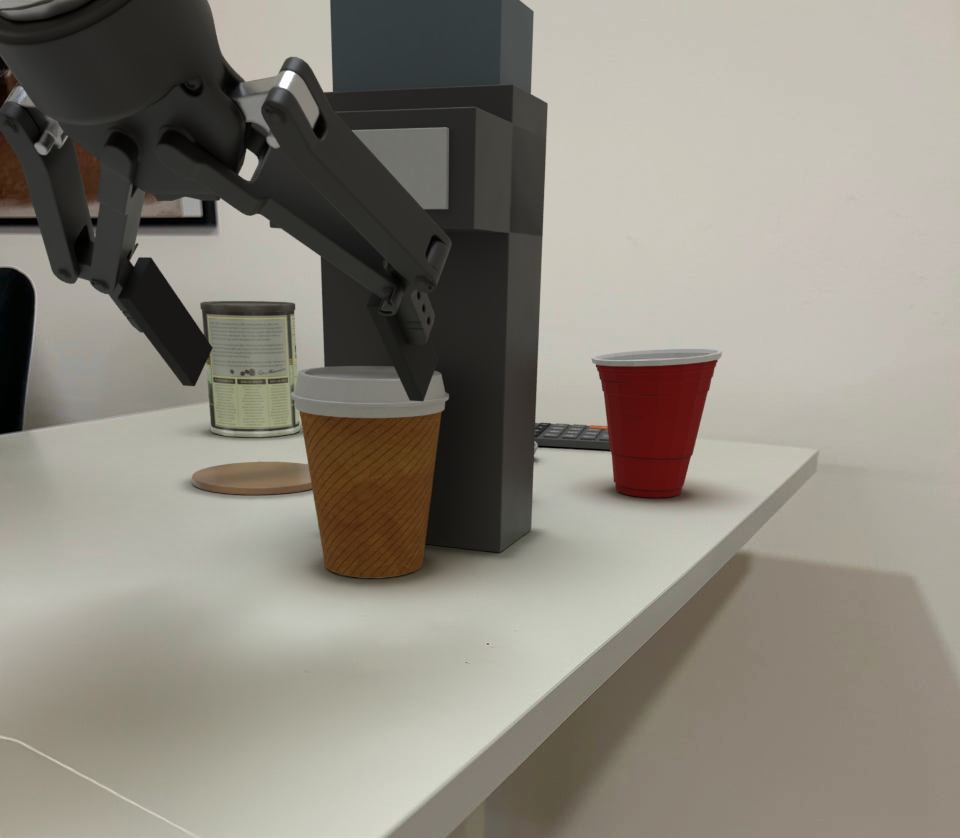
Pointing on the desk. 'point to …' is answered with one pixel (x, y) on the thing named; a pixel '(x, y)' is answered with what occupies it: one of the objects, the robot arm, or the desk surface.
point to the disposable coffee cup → (369, 465)
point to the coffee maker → (456, 234)
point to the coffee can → (251, 367)
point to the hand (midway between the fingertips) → (306, 373)
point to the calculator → (572, 435)
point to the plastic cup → (654, 415)
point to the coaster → (254, 478)
